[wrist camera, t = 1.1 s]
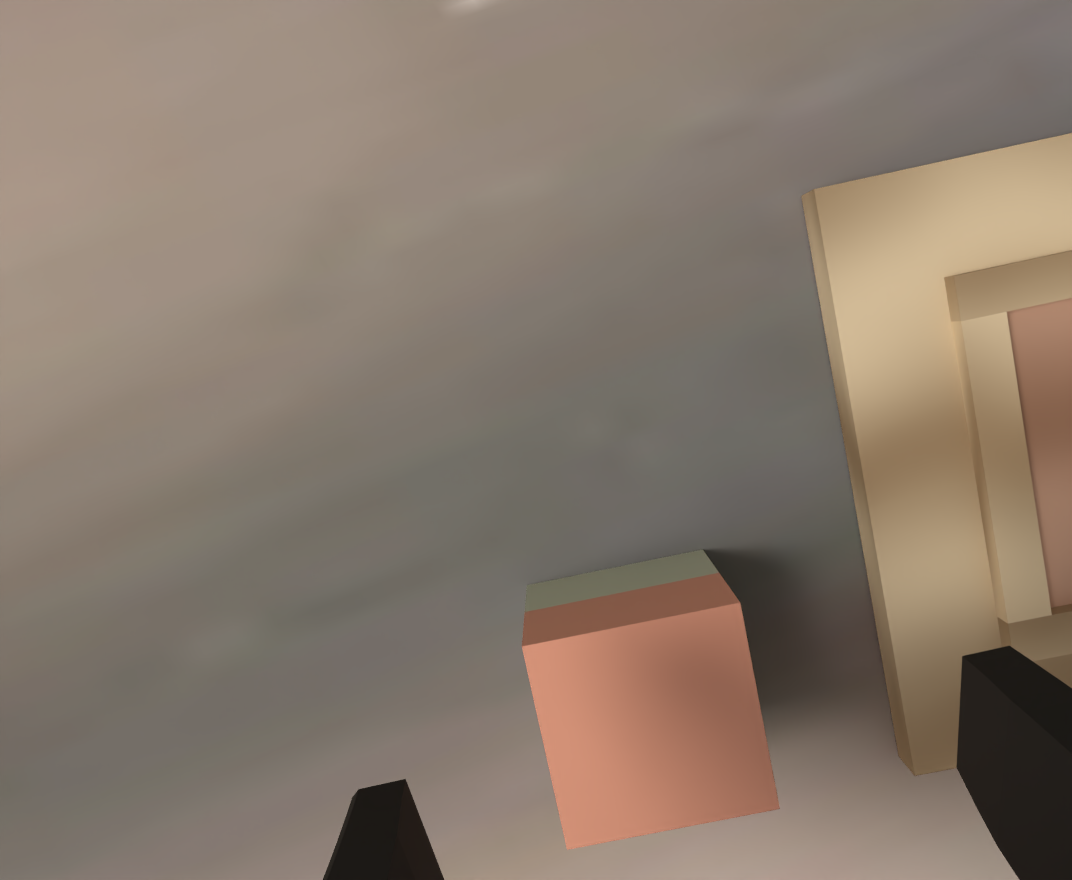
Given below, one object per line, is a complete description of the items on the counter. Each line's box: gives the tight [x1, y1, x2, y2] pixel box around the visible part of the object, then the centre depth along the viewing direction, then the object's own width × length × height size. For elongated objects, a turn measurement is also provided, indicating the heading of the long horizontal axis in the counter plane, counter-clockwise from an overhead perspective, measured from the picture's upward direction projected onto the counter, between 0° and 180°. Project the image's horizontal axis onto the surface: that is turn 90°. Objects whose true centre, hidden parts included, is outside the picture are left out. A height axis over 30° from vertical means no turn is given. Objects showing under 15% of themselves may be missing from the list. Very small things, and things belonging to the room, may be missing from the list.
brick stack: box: [522, 550, 780, 850], centre depth 20 cm, size 4×4×4 cm
